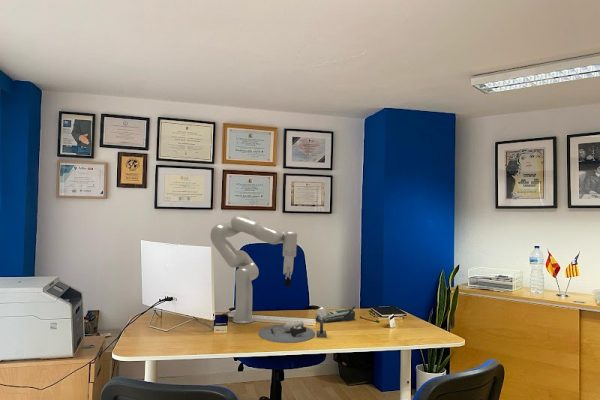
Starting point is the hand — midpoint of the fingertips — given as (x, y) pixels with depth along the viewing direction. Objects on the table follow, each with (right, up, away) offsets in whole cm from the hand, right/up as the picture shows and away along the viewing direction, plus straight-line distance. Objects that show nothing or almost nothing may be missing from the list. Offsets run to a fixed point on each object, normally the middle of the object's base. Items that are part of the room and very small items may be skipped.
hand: (287, 286), depth 226 cm
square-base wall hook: (+18, -22, -17) cm, 33 cm away
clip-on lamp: (+1, -22, -15) cm, 27 cm away
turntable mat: (0, -22, -13) cm, 26 cm away
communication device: (+27, -24, +15) cm, 39 cm away
